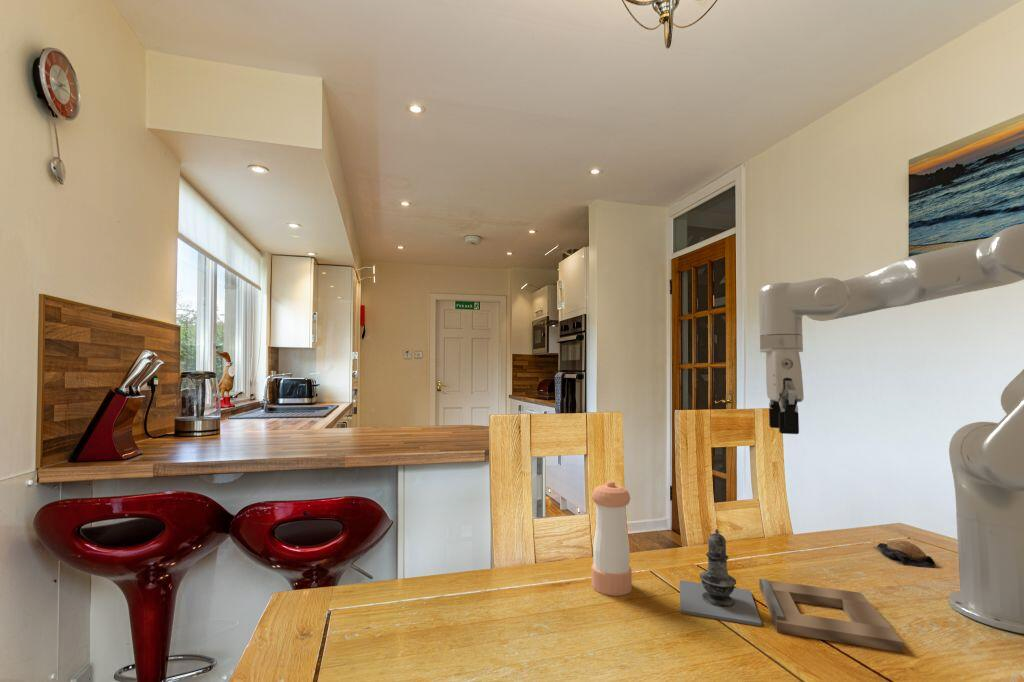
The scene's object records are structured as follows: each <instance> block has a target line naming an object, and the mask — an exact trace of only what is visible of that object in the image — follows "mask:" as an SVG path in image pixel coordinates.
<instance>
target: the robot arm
mask: <svg viewBox="0 0 1024 682" xmlns="http://www.w3.org/2000/svg"><path fill="white" fill-rule="evenodd" d="M1023 280H1024V223H1021V224H1013V225H1012V226H1009V227H1006V228H1003V229H1002V230H1000V231H998V232H997V233H995V234H994V235H992V236H990V237H987V238H983V239H979V240H978V239H977V240H974V241H970V242H967V243H966V242H965V243H962V244H958V245H954V246H949V247H945V248H942V249H938V250H933V251H927V252H924V253H920V254H915V255H911V256H908V257H905V258H903V259H900V260H897V261H895V262H893V263H891V264H888V265H887V266H885V267H882V268H880V269H877V270H874V271H873V272H870V273H869V272H868V273H867V274H863V275H859V276H857V277H853V278H849V279H845V280H841V279H838V278H834V277H820V278H815V279H810V280H804V281H803V280H802V281H799V282H775V283H770V284H765V285H763V286H762V287H760V289H759V291H758V311H759V312H758V313H759V314H758V316H759V322H758V323H759V352H760V353H765V354H766V355H765V359H766V360H765V380H766V396H767V398H768V399H769V404H768V405H769V407H768V418H769V419H768V420H769V421H768V422H769V423H768V424H769V427H770V428H771V429H778V432H779V433H780V434H785V435H786V434H787V435H798V434H799V433H800V425H799V424H800V423H799V422H800V420H799V406H798V403H802V402H803V401H804V399H805V398H804V397H805V396H804V395H805V394H804V384H803V383H804V382H803V371H802V363H801V357H800V356H801V355H800V353H803V352H804V340H803V338H804V336H803V317H804V316H806V317H808V318H809V319H811V320H813V321H817V322H827V321H833V320H837V319H842V318H848V317H853V316H859V315H863V314H867V313H873V312H877V311H881V310H887V309H890V308H891V309H892V308H898V307H905V306H910V305H914V304H919V303H925V302H928V301H933V300H938V299H944V298H946V297H947V298H948V297H951V296H956V295H961V294H966V293H971V292H972V293H973V292H977V291H983V290H989V289H993V288H998V287H1003V286H1007V285H1011V284H1015V283H1019V282H1021V281H1023ZM1000 404H1001V405H1000V406H1001V407H1002V410H1003V411H1004V412H1005V414H1006V415H1004V417H1003V418H1002V419H1001V420H1000V421H999V422H994V421H976V422H972V423H968V424H965V425H963V426H962V427H960V428H958V429H957V430H956V432H955V433H954V434H953V435H952V437H951V439H950V441H949V448H948V457H949V462H950V467H951V472H952V477H953V484H954V493H955V507H956V508H955V510H956V512H955V513H956V514H955V515H956V517H955V518H956V535H957V557H958V572H959V573H958V575H959V590H958V591H953V592H951V593H949V594H948V597H947V598H948V604H949V605H950V607H952V608H953V609H954V610H955V611H957V612H958V613H960V614H962V615H964V616H966V618H970V619H972V620H974V621H977V622H978V623H979V622H980V623H982V624H984V625H988V626H991V627H993V628H997V629H1000V630H1004V631H1008V632H1013V633H1018V634H1023V635H1024V368H1023V369H1022V370H1021V371H1020V372H1019V373H1018V374H1017V375H1016V376H1015V377H1014V378H1013V379H1012V380H1011V381H1010V382H1009V383H1008V384H1007V385H1006V386H1005V388H1004V389H1003V391H1002V393H1001V395H1000Z"/></svg>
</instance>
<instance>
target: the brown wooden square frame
mask: <svg viewBox="0 0 1024 682" xmlns="http://www.w3.org/2000/svg"><path fill="white" fill-rule="evenodd" d="M758 582H759V583H758V584H759V590H760V592H761V595H762V597H763V599H764V603H765V604H766V607H767V611H768V613H769V614H770V617H771V619H772V623H773V624H774V627H775V630H776V633H781V634H788V635H792V636H799V637H806V638H812V639H817V640H824V641H829V642H835V643H840V644H848V645H854V646H855V645H856V646H860V647H865V648H872V649H879V650H883V651H891V652H896V653H904V641H903V640H902V639H901V638H900V637H899V635H898V634H897V633H896V632H895V630H894V629H893V628H892V627H891V626H890V624H889V623H887V621H886V620H885V619H884V618H883V617H882V615H881V613H879V612H878V611H877V609H876V608H875V607H874V605H872V603H871V602H870V601H869V600H868V598H866V596H865V595H864V594H863V593H862V592H860V591H859V592H858V591H852V590H851V591H850V590H844V589H836V588H829V587H821V586H814V585H813V586H812V585H807V584H801V583H799V584H798V583H792V582H785V581H784V582H783V581H776V580H768V579H765V578H761V579H760V578H759V581H758ZM796 603H803V604H808V605H809V604H810V605H817V606H822V607H829V608H836V609H842V611H844V613H845V614H846V616H847V617H848V619H849V621H848V620H843V619H842V620H841V619H836V618H829V617H825V616H824V617H823V616H817V615H809V614H803V613H801V612H800V611H799V609H798V607H797V606H796Z"/></svg>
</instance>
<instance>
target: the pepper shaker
mask: <svg viewBox="0 0 1024 682" xmlns="http://www.w3.org/2000/svg"><path fill="white" fill-rule="evenodd" d="M591 497H592V500H593V502H594V503H595V504H596V506H595V507H596V509H595V511H596V512H595V520H596V521H595V522H596V523H595V530H594V531H595V533H594V538H593V546H592V549H593V551H592V552H593V563H592V565H591V587H592V589H593V590H594V591H596V592H598V593H600V594H603V595H607V596H624V595H627V594H629V593H631V592H632V588H633V583H632V578H633V576H632V575H633V574H632V568H631V566H630V543H629V537H628V531H627V506H628V505H629V503H630V501H631V495H630V493H629V491H628V489H627V488H625V487H623V486H622V485H621V486H620V485H619V484H616V483H615V481H612V480H609V481H607V482H606V483H605V484H601V485H598V486H596V487H595V488H594V490H593V491H592V494H591Z"/></svg>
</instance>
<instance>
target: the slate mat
mask: <svg viewBox="0 0 1024 682" xmlns="http://www.w3.org/2000/svg"><path fill="white" fill-rule="evenodd" d="M705 592H707V591H706V590H705V588H704V587H703V584H702V582H695V581H688V580H683V579H680V580H679V605H680V606H679V608H680V610H679V611H680V614H682V615H683V614H684V615H688V616H689V615H690V616H696V617H702V618H709V619H713V620H719V621H720V620H721V621H725V622H726V621H727V622H731V623H737V624H743V625H744V624H745V625H750V626H755V627H756V626H757V627H762V625H763V624H762V623H763V622H762V620H761V617H760V615H759V612H758V609H757V606H756V604H755V601H754V598H753V595H752V592H751V590H750V589H747V588H746V589H745V588H739V587H734V590H733V592H732V593H731V594H730V595H729V596H730V597H732V598H733V599H734V601H735V604H734V605H733V606H731V607H718V606H714V605H711V604H709V603H707V602H705V601H704V600H703V599H702V594H703V593H705Z"/></svg>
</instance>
